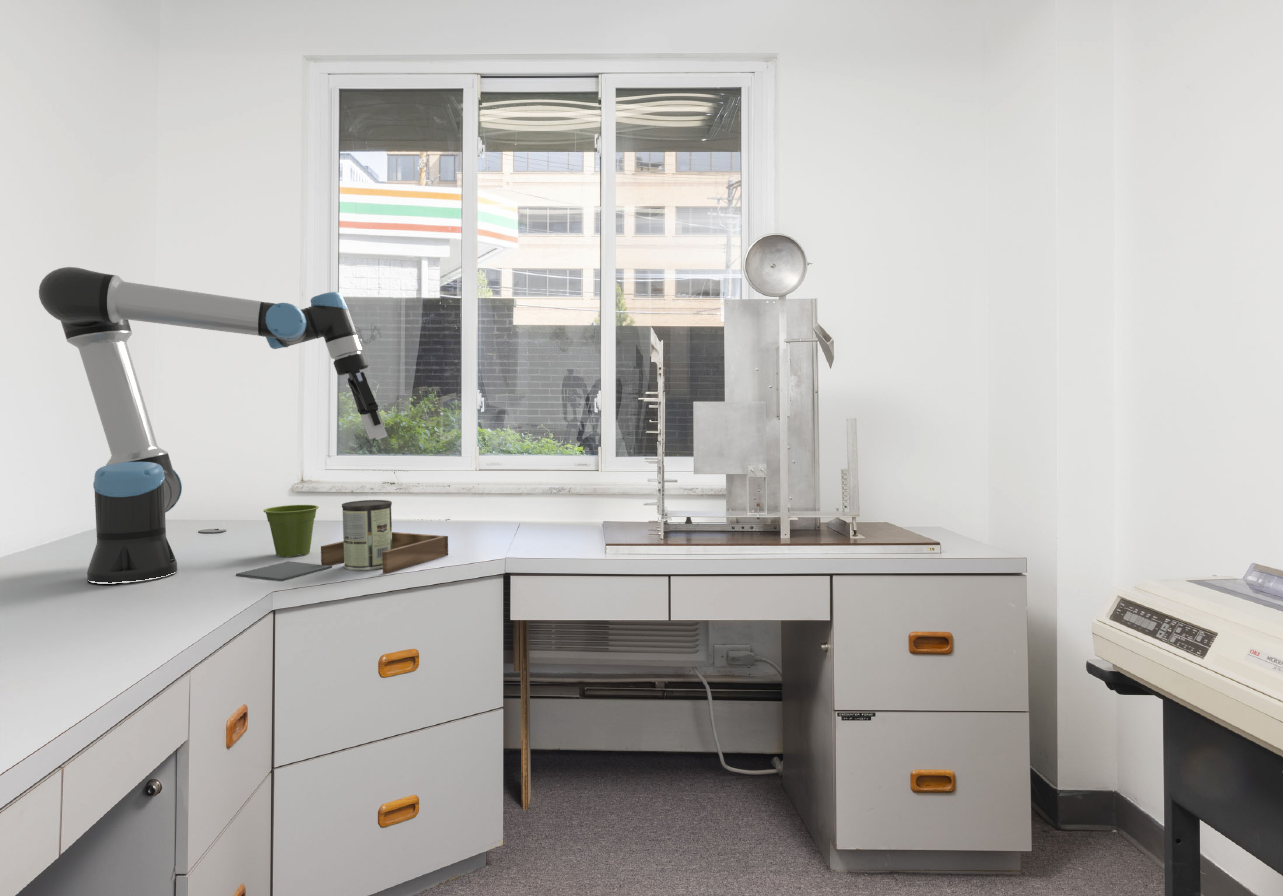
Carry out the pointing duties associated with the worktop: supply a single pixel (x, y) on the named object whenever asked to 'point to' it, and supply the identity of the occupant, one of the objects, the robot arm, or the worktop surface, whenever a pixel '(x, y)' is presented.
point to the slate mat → (284, 570)
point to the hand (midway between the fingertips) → (378, 438)
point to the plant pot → (291, 528)
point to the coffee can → (366, 533)
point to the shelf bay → (396, 551)
